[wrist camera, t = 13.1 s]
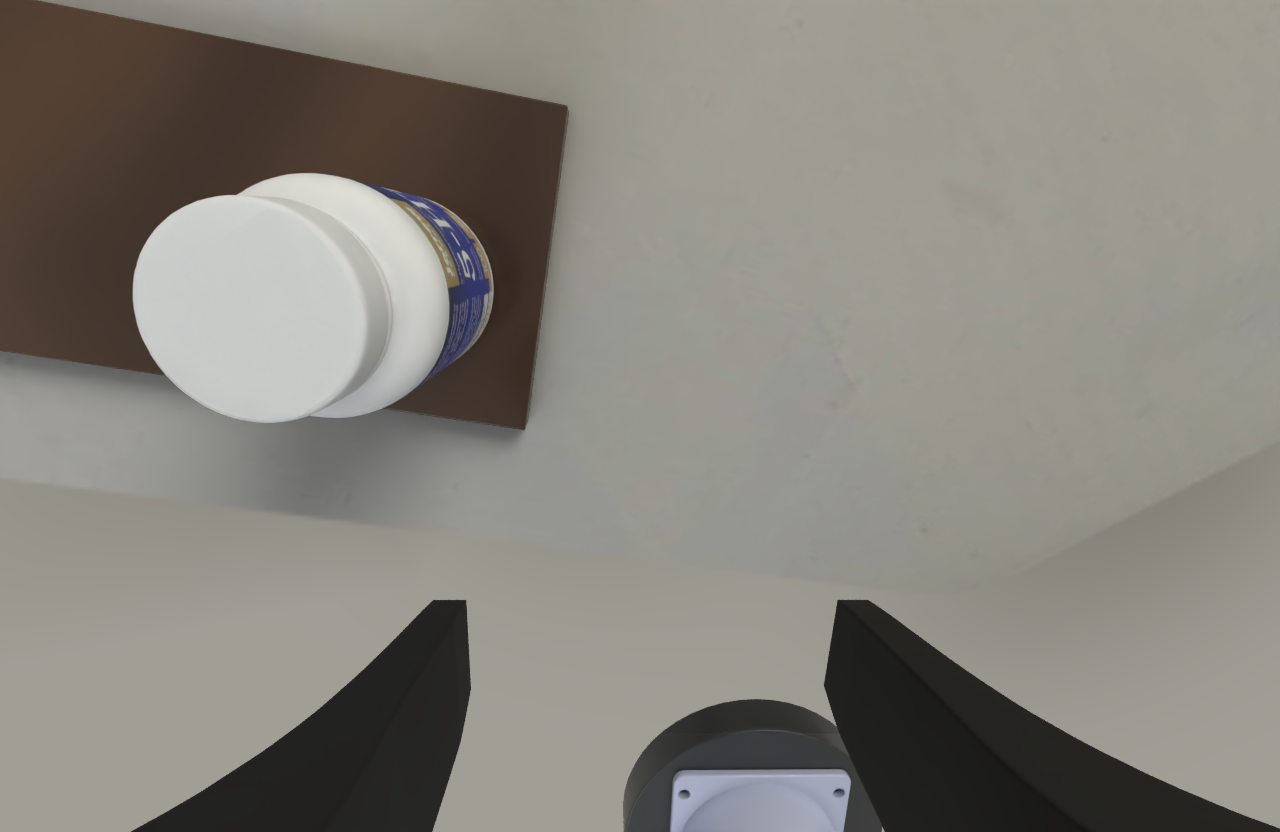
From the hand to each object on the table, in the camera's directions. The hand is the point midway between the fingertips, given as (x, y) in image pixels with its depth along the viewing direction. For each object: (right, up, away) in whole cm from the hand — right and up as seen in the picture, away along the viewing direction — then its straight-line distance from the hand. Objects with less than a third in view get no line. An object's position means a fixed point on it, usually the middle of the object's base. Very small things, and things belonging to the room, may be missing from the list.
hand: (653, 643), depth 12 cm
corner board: (-13, +10, +7) cm, 18 cm away
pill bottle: (-7, +8, +7) cm, 14 cm away
